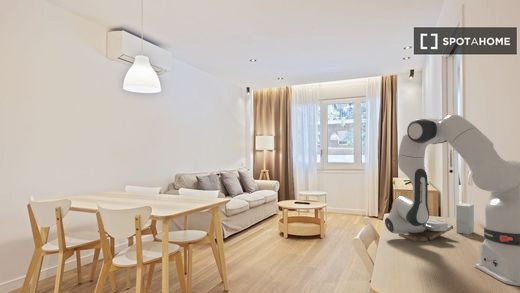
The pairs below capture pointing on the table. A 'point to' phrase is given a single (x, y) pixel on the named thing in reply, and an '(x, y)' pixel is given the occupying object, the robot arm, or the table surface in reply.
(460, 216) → the skincare box
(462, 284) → the table surface
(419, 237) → the laid plank
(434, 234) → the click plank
